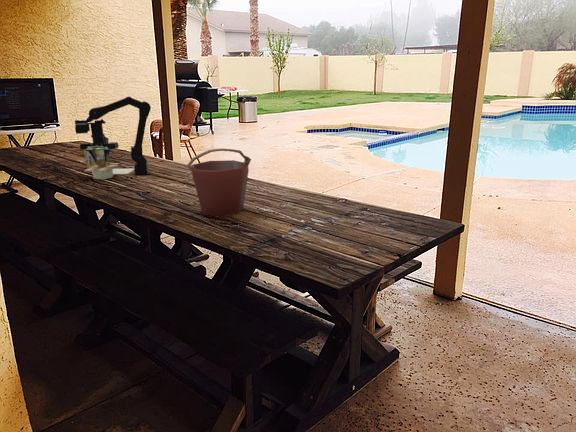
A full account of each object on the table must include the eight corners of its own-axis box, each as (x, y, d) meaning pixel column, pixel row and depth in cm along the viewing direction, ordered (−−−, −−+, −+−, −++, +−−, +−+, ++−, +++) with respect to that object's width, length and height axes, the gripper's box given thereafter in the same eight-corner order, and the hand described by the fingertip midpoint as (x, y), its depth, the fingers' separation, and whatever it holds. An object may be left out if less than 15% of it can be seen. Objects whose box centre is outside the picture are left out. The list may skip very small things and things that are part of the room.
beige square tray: (118, 166, 265) (117, 157, 263) (109, 170, 252) (108, 161, 251) (95, 166, 265) (93, 157, 263) (85, 171, 252) (83, 162, 251)
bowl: (115, 175, 265) (114, 166, 263) (109, 179, 255) (107, 170, 254) (97, 175, 265) (96, 166, 263) (90, 179, 255) (89, 170, 254)
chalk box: (94, 169, 282) (90, 144, 277) (85, 168, 287) (82, 143, 283) (108, 167, 289) (105, 142, 284) (99, 165, 294) (96, 141, 290)
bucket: (253, 203, 205) (251, 144, 198) (251, 218, 184) (248, 153, 177) (195, 204, 204) (191, 145, 197) (187, 220, 183) (181, 154, 176)
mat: (136, 169, 281) (136, 168, 281) (127, 174, 267) (127, 173, 267) (110, 169, 282) (110, 168, 281) (100, 174, 267) (100, 174, 267)
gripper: (120, 130, 260) (123, 159, 265) (86, 130, 261) (90, 159, 265) (112, 133, 250) (116, 162, 254) (77, 133, 250) (81, 163, 255)
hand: (101, 162), depth 257 cm, fingers open, 5 cm apart
